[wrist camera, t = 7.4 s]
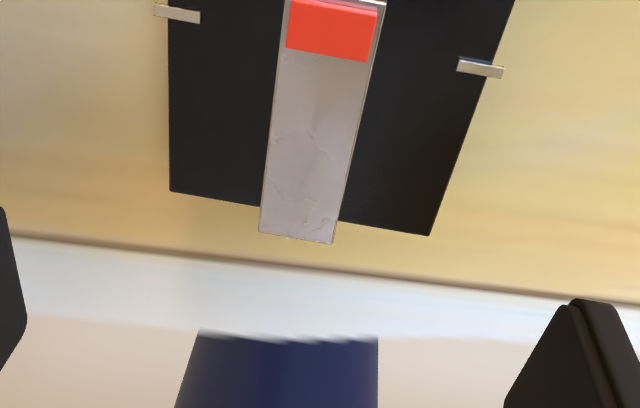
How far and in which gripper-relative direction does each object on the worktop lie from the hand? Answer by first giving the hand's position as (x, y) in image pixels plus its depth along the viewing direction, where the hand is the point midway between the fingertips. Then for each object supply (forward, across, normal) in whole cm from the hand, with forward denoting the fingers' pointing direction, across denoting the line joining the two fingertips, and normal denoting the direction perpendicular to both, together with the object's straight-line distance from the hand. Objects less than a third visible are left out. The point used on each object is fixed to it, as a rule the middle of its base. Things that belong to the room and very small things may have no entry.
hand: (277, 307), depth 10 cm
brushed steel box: (+10, 0, -1) cm, 10 cm away
